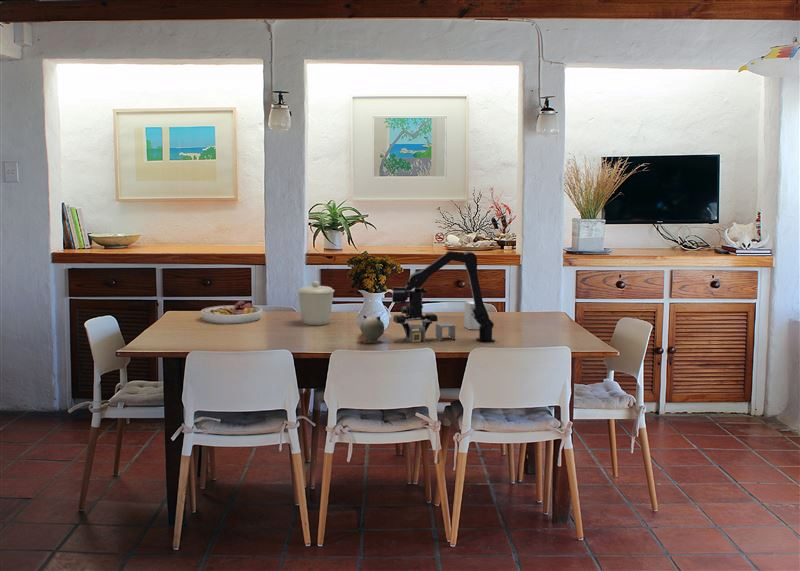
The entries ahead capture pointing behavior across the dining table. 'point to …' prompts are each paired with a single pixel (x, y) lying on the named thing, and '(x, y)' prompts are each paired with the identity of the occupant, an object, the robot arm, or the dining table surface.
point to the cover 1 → (421, 329)
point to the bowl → (232, 313)
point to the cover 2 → (450, 332)
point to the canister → (315, 304)
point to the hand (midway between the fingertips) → (415, 337)
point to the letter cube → (416, 336)
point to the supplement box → (470, 316)
